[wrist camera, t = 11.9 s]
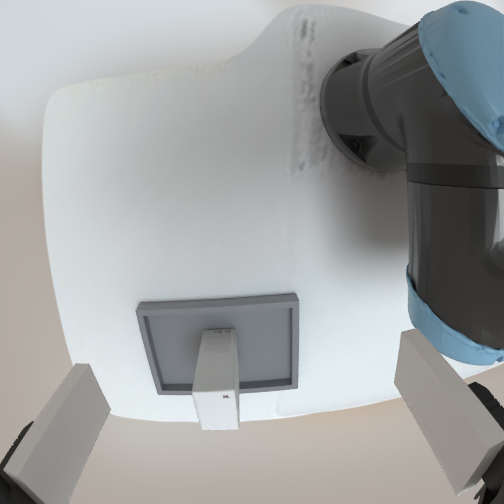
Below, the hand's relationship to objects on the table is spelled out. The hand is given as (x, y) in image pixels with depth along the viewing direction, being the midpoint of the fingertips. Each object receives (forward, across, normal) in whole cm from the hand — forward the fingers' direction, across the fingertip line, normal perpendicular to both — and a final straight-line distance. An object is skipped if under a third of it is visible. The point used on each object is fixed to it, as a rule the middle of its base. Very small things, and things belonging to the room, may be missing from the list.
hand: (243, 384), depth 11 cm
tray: (+25, -5, -14) cm, 29 cm away
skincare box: (+25, -5, -14) cm, 29 cm away
